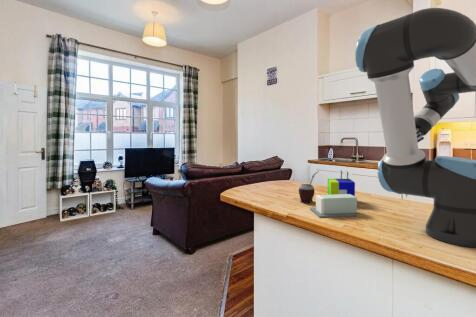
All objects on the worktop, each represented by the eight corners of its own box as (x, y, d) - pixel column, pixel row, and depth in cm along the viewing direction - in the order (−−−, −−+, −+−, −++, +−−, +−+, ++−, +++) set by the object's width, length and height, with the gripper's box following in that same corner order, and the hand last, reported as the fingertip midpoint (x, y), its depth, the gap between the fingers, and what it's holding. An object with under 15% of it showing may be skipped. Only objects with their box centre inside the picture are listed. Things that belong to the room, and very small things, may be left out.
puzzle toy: (354, 204, 112) (354, 182, 111) (330, 204, 114) (331, 182, 113) (349, 199, 122) (349, 178, 121) (327, 198, 124) (327, 178, 123)
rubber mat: (342, 208, 107) (342, 206, 107) (355, 216, 96) (355, 214, 96) (310, 209, 106) (310, 208, 106) (319, 217, 95) (319, 216, 95)
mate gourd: (296, 200, 121) (296, 169, 120) (311, 199, 123) (310, 168, 122) (304, 204, 114) (303, 171, 113) (319, 203, 116) (319, 170, 114)
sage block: (349, 194, 104) (315, 195, 103) (357, 197, 98) (321, 198, 97) (349, 208, 104) (315, 209, 104) (356, 212, 98) (321, 213, 98)
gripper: (443, 128, 93) (398, 175, 94) (416, 129, 106) (377, 170, 107) (429, 114, 93) (384, 161, 93) (404, 117, 106) (365, 158, 106)
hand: (380, 166), depth 100 cm, fingers closed
